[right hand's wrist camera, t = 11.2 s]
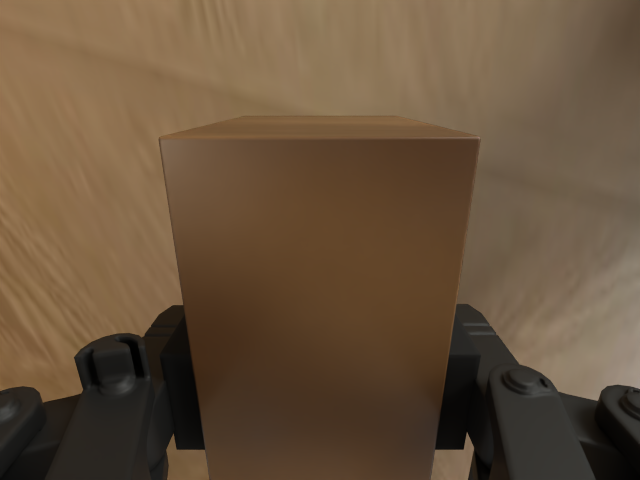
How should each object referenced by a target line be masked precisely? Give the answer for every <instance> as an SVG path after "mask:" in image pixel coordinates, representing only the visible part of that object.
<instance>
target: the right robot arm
mask: <svg viewBox="0 0 640 480" xmlns="http://www.w3.org/2000/svg"><path fill="white" fill-rule="evenodd" d="M74 359H75V363H76V366H77V370H78V373H79V377H80V380H81V384H82V387H83V392H82V394H78V395H75V396H71V397H66V398H62V399H57V400H53V401H48V402H44V403H43V402H42V399H41V396H40V393H39V392H38V391H37V390H36V389H34V388H31V387H24V386H22V387H15V388H9V389H6V390H2V391H0V480H167V475H168V466H169V465H168V457H167V452H166V449H167V446H168V444H169V442H170V440H171V437H172V435H173V433H174V437H175V443H176V448H177V450H205V445H204V438H203V432H202V425H201V418H200V412H199V405H198V398H197V392H196V385H195V378H194V372H193V365H192V358H191V352H190V345H189V338H188V332H187V325H186V318H185V312H184V305H173V306H171V307H170V308H168V309H167V310H165V311H164V312H162V313H161V314H159V316H158V317H157V318H156V320H155V321H154V322H153V324H152V325H151V327H150V328H149V329H148V330H147V332H146V333H145V336H144V337H142V338H141V337H140V336H139V335H135V334H131V333H121V334H114V335H110V336H105V337H102V338H100V339H98V340H95V341H93V342H91V343H89V344H88V345H87V346H85V347H84V348H82V349H81V350H80V351H79V352H78V353H77V354H76V356H75V357H74ZM467 432H468V435H469V437H470V439H471V441H472V444H473V446H474V452H473V457H472V462H471V467H470V472H469V477H468V480H640V389H638V388H634V387H630V386H623V385H613V386H607V387H606V388H605V389H603V390H602V391H601V394H600V397H599V400H598V401H595V400H590V399H586V398H581V397H577V396H572V395H568V394H564V393H561V392H558V391H557V389H556V388H555V386H554V385H553V383H552V382H551V381H550V380H549V379H548V378H547V377H545V376H544V375H543V374H541V373H540V372H538V371H536V370H534V369H532V368H529V367H527V366H523V365H519V363H518V362H517V361H516V359H515V358H514V357H513V355H512V354H511V352H510V351H509V350H508V348H507V347H506V346H505V344H504V343H503V342H502V340H501V339H500V338H499V336H498V335H496V332H495V331H494V330H493V328H492V327H491V326H489V323H488V322H487V320H486V319H485V318H484V316H483V315H482V314H481V313H480V312H479V311H477V310H476V309H474V308H473V307H471V306H470V305H468V304H456V310H455V317H454V323H453V330H452V337H451V344H450V350H449V357H448V364H447V371H446V378H445V384H444V391H443V398H442V405H441V412H440V418H439V425H438V432H437V439H436V445H435V450H464V444H465V439H466V434H467Z"/></svg>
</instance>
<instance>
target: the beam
mask: <svg viewBox="0 0 640 480" xmlns="http://www.w3.org/2000/svg"><path fill="white" fill-rule="evenodd" d="M480 140H481V139H480V137H479V136H475V135H471V134H467V133H463V132H459V131H455V130H451V129H447V128H443V127H439V126H435V125H431V124H427V123H423V122H419V121H415V120H411V119H407V118H403V117H399V116H243V117H239V118H235V119H230V120H226V121H222V122H218V123H214V124H210V125H206V126H202V127H198V128H194V129H190V130H186V131H181V132H177V133H173V134H169V135H165V136H161V137H159V145H160V152H161V158H162V165H163V172H164V178H165V185H166V192H167V198H168V205H169V212H170V218H171V225H172V232H173V238H174V245H175V252H176V258H177V265H178V272H179V278H180V285H181V292H182V298H183V305H184V312H185V318H186V325H187V332H188V338H189V345H190V352H191V358H192V365H193V372H194V378H195V385H196V392H197V398H198V405H199V412H200V418H201V425H202V432H203V438H204V445H205V452H206V458H207V465H208V472H209V478H210V480H430V479H431V473H432V466H433V459H434V452H435V445H436V439H437V432H438V425H439V418H440V412H441V405H442V398H443V391H444V384H445V378H446V371H447V364H448V357H449V350H450V344H451V337H452V330H453V323H454V317H455V310H456V303H457V296H458V289H459V283H460V276H461V269H462V262H463V255H464V249H465V242H466V235H467V228H468V221H469V215H470V208H471V201H472V194H473V188H474V181H475V174H476V167H477V160H478V154H479V147H480Z"/></svg>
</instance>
